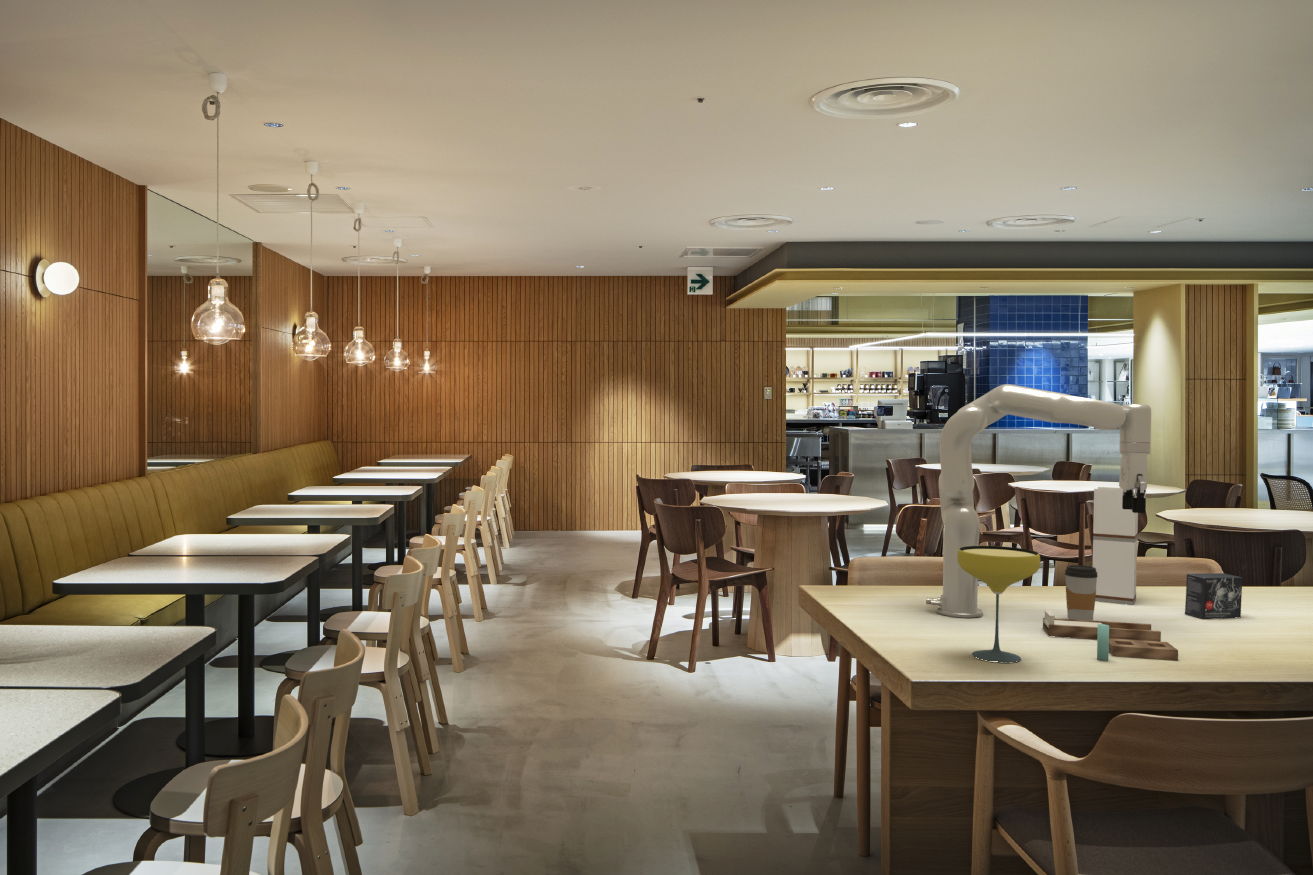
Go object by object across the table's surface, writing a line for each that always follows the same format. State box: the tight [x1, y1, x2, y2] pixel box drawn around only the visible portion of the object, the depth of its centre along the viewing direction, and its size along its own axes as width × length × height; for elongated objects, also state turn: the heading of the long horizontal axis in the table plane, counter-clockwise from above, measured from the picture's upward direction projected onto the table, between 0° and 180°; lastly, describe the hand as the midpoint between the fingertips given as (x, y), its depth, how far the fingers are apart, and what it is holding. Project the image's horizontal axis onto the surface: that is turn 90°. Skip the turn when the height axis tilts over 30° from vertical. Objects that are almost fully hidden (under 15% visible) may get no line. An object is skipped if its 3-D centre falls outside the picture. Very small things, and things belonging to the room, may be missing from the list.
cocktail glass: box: [957, 545, 1041, 663], centre depth 208 cm, size 18×18×25 cm
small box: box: [1184, 572, 1243, 620], centre depth 256 cm, size 13×7×12 cm, turn 102°
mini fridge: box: [1092, 486, 1139, 606], centre depth 277 cm, size 11×11×35 cm
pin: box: [1096, 624, 1110, 662], centre depth 207 cm, size 2×2×8 cm
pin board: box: [1109, 638, 1179, 661], centre depth 212 cm, size 14×8×2 cm, turn 76°
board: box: [1042, 617, 1162, 642], centre depth 230 cm, size 26×9×3 cm, turn 76°
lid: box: [1044, 610, 1102, 628], centre depth 231 cm, size 14×6×3 cm, turn 76°
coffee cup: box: [1064, 564, 1098, 621], centre depth 248 cm, size 8×8×15 cm
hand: (1133, 510), depth 244 cm, fingers open, 9 cm apart
